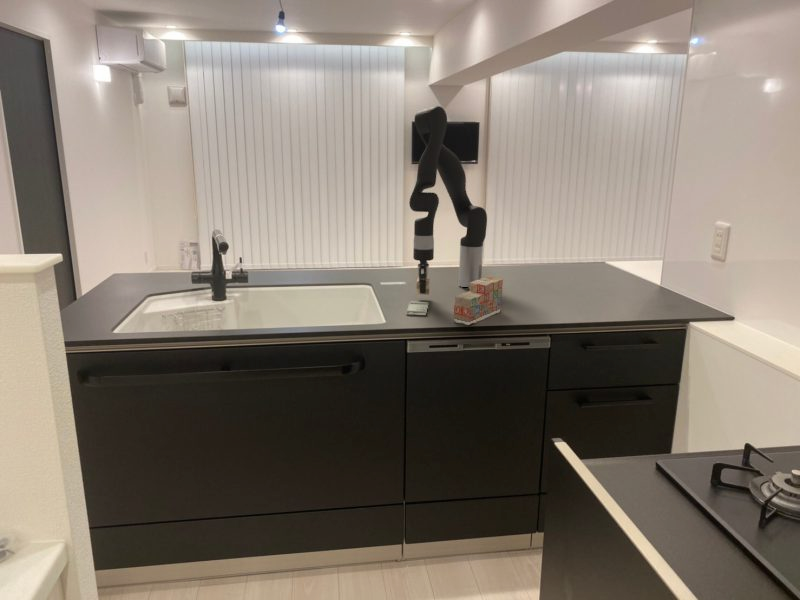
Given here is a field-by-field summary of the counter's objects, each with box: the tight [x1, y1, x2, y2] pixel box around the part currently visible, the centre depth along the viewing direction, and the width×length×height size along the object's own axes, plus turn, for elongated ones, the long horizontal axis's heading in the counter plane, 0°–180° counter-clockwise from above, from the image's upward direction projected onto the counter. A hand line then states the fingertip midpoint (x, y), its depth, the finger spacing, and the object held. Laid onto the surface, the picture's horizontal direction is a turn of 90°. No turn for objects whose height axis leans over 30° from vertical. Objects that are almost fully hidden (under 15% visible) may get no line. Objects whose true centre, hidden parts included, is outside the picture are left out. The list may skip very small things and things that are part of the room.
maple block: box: [416, 277, 430, 296], centre depth 223 cm, size 5×5×5 cm
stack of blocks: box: [453, 276, 504, 322], centre depth 202 cm, size 21×6×12 cm, turn 142°
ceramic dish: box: [406, 300, 430, 313], centre depth 210 cm, size 7×12×2 cm, turn 174°
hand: (423, 291), depth 223 cm, fingers closed on maple block, 4 cm apart
